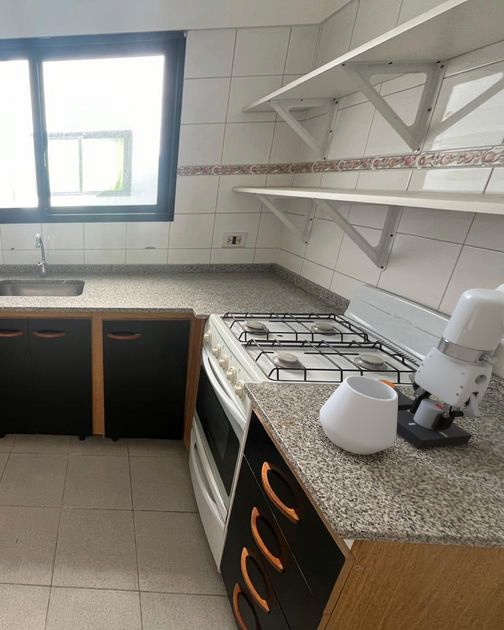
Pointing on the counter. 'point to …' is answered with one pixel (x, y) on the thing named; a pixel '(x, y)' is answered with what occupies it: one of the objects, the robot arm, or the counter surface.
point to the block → (403, 401)
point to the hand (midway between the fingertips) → (427, 420)
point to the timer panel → (428, 433)
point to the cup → (361, 415)
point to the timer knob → (428, 412)
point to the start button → (388, 383)
